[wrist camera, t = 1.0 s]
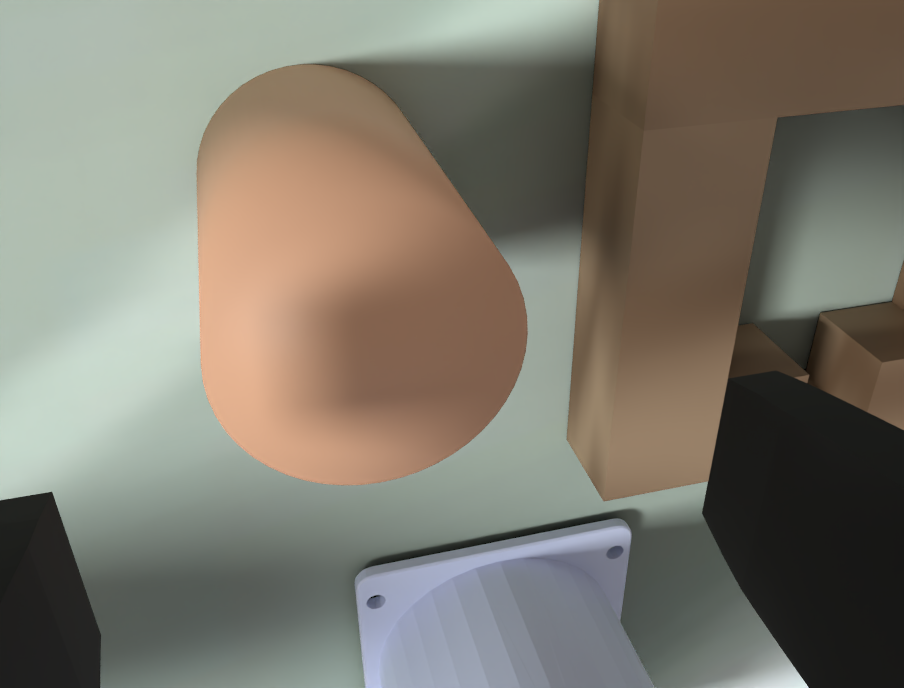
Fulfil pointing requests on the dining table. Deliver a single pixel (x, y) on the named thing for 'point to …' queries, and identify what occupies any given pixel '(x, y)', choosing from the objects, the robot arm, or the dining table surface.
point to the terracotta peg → (344, 285)
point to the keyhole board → (709, 223)
